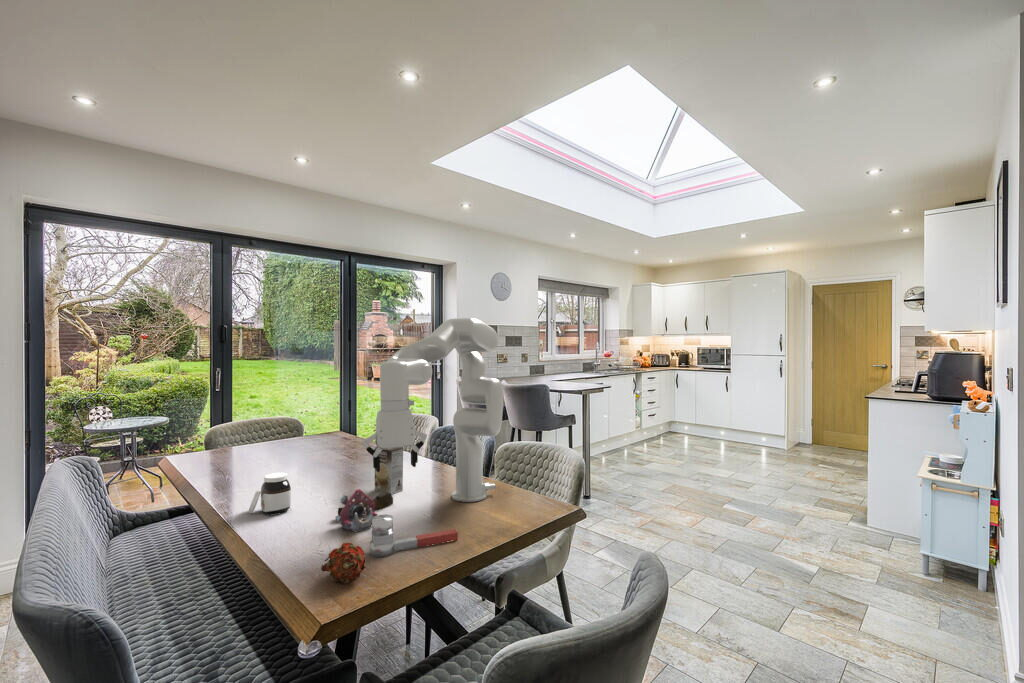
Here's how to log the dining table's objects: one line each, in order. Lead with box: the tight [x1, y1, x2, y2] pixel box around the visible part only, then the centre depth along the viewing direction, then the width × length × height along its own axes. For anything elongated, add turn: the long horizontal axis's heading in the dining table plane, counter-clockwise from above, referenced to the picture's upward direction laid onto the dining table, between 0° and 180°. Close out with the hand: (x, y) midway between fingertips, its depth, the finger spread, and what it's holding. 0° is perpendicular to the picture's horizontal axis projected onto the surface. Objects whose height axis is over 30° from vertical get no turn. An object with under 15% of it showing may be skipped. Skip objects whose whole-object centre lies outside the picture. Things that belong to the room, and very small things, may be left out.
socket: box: [371, 513, 395, 547], centre depth 117 cm, size 5×5×6 cm
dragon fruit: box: [320, 542, 367, 584], centre depth 104 cm, size 8×8×12 cm
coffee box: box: [374, 447, 404, 495], centre depth 168 cm, size 9×6×16 cm
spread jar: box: [247, 472, 292, 516], centre depth 146 cm, size 12×11×12 cm
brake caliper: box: [335, 488, 378, 532], centre depth 135 cm, size 11×11×12 cm
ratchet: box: [369, 528, 459, 559], centre depth 121 cm, size 23×6×5 cm, turn 115°
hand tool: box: [337, 493, 394, 516], centre depth 146 cm, size 19×4×5 cm, turn 136°
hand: (395, 468), depth 124 cm, fingers open, 9 cm apart
